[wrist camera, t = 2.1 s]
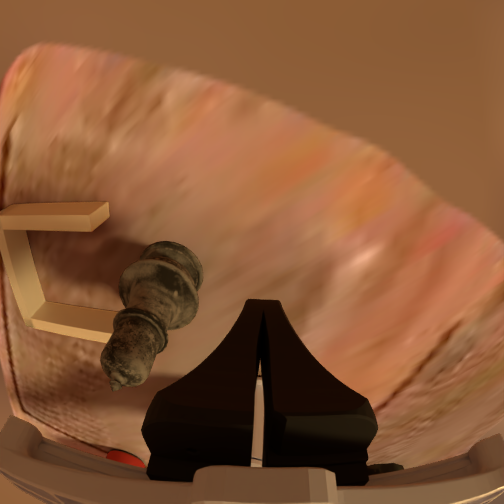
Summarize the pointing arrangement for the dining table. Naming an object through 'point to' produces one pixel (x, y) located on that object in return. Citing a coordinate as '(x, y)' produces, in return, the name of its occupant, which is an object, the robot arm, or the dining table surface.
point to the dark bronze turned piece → (151, 310)
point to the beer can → (125, 458)
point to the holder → (24, 272)
